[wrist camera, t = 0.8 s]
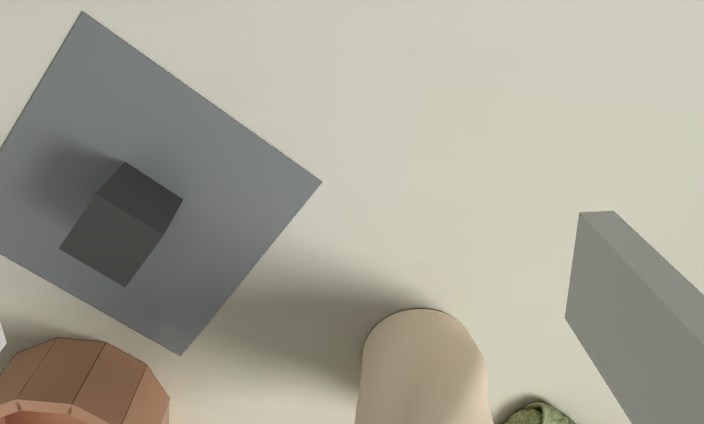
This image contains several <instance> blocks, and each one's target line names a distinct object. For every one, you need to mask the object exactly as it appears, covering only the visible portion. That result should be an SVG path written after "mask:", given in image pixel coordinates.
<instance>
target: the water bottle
mask: <svg viewBox="0 0 704 424" xmlns="http://www.w3.org/2000/svg"><path fill="white" fill-rule="evenodd" d="M355 424H494V423H493V419H492V416H491V412H490V408H489V404H488V399H487V365H486V362H485V359H484V357H483V355H482V353H481V352H480V350H479V348H478V347H477V345H476V343H475V342H474V340H473V339H472V337H471V336H470V334H469V333H468V331H467V330H466V329H465V328H464V326H463V325H462V324H461V323H459V322H458V321H457V320H456V319H454V318H453V317H451V316H450V315H448V314H445V313H443V312H439V311H435V310H428V309H412V310H405V311H401V312H398V313H395V314H393V315H391V316H388V317H387V318H385V319H384V320H382V321H381V322H380V323H378V324H377V325H376V326H375V327H374V329H373V330H372V331H371V333H370V334H369V336H368V337H367V340H366V342H365V344H364V348H363V356H362V371H361V379H360V386H359V393H358V400H357V407H356V416H355Z"/></svg>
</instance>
